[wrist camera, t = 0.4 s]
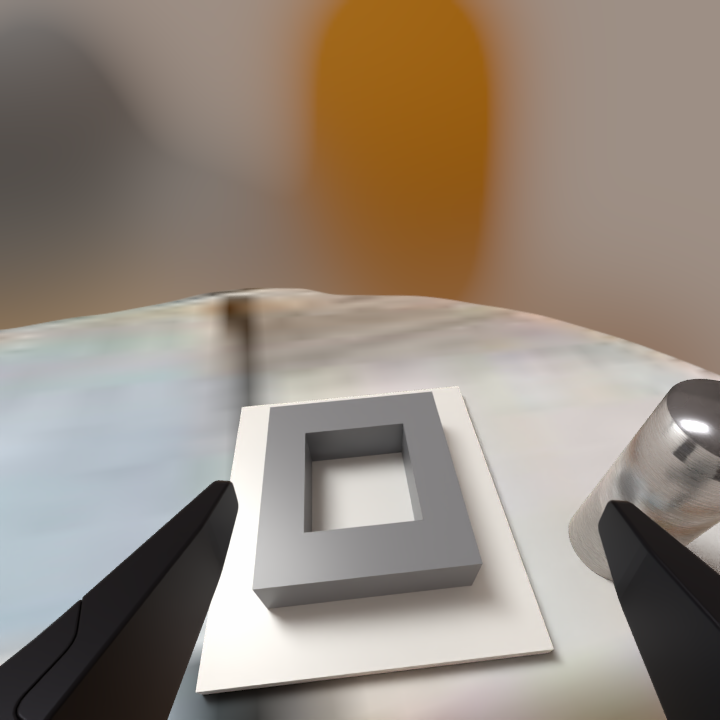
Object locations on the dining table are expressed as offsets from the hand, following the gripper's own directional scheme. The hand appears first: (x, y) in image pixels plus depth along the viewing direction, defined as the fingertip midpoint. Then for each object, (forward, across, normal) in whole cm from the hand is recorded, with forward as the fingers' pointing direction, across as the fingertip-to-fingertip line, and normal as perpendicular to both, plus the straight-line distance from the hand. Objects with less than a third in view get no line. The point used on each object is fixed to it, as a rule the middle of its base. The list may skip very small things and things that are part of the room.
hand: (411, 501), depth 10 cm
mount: (+11, +2, +14) cm, 18 cm away
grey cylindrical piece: (+10, -13, +15) cm, 22 cm away
